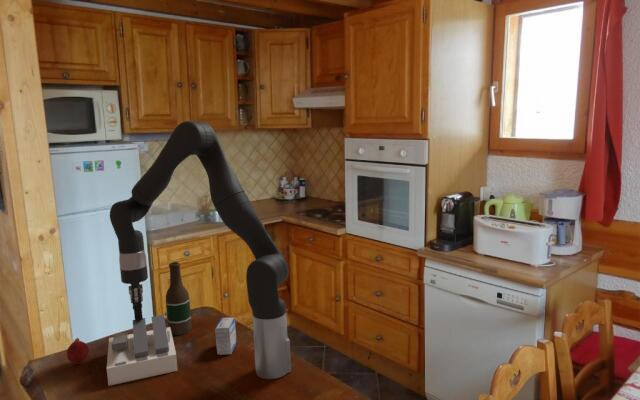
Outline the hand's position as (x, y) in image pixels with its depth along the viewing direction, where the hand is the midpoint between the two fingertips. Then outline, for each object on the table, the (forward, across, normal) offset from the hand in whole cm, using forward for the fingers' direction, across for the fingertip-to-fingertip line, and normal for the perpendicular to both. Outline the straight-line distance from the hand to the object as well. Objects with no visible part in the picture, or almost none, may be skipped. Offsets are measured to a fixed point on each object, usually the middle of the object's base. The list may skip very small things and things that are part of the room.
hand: (138, 319), depth 143 cm
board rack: (+11, -7, 0) cm, 13 cm away
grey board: (+3, -7, +6) cm, 9 cm away
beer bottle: (+11, +10, -12) cm, 19 cm away
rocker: (+3, -7, 0) cm, 7 cm away
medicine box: (+11, -10, -24) cm, 28 cm away
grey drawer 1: (+3, -7, -6) cm, 9 cm away
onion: (+11, 0, +18) cm, 21 cm away
